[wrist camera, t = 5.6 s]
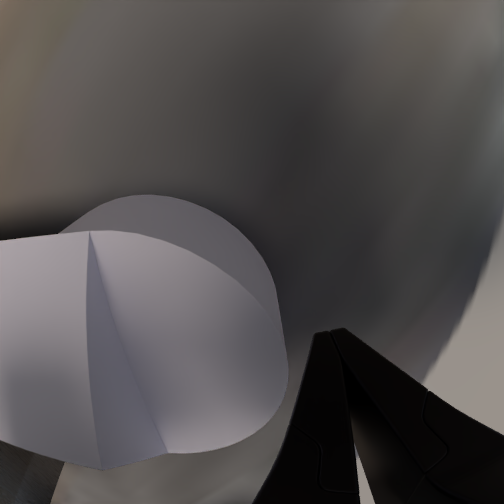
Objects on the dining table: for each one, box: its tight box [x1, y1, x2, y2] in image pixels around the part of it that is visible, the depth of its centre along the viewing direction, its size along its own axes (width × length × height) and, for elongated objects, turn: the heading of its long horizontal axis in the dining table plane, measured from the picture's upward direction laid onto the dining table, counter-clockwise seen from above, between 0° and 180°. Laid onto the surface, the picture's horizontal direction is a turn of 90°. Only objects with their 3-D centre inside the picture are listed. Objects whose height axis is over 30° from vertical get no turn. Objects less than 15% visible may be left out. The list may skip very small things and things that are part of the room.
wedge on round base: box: [0, 195, 289, 470], centre depth 8 cm, size 9×7×13 cm
